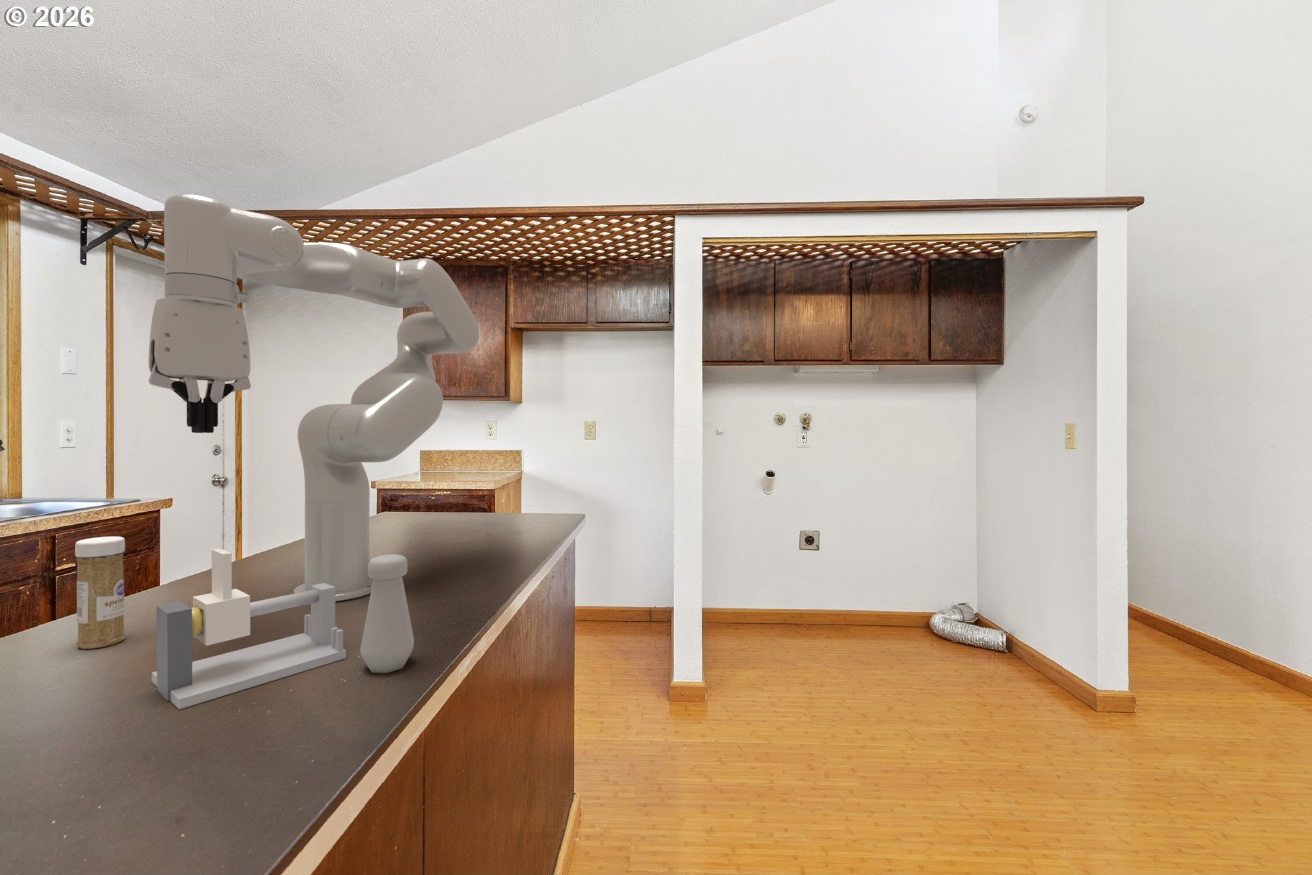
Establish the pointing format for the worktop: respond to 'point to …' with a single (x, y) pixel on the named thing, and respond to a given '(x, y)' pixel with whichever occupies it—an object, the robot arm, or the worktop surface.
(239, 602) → the square collar block
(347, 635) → the worktop surface
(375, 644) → the salt shaker
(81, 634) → the sprinkles bottle
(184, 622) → the slider rail rig
